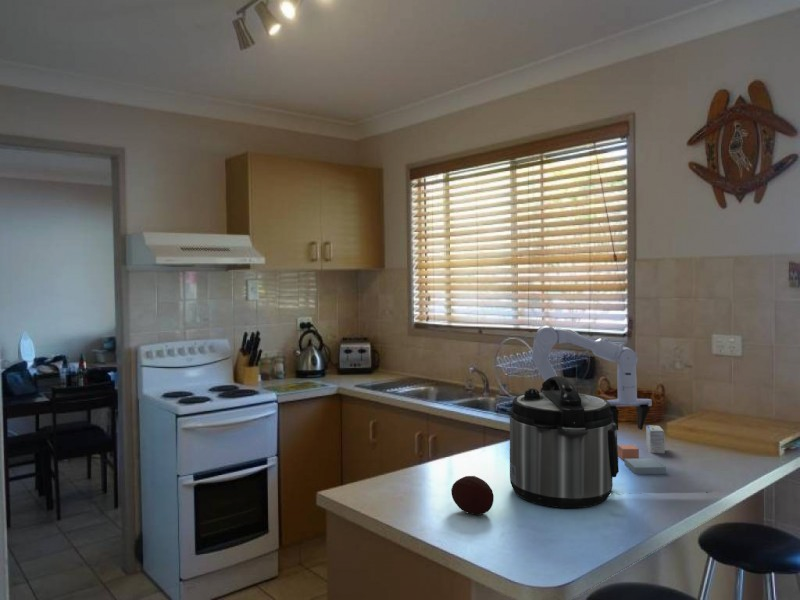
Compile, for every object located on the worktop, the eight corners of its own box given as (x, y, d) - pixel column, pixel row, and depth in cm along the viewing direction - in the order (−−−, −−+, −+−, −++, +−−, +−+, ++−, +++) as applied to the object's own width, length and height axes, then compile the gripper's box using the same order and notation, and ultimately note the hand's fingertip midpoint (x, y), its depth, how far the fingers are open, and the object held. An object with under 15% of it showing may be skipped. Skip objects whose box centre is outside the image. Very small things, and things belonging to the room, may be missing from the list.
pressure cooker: (596, 523, 151) (595, 390, 150) (489, 500, 167) (488, 381, 166) (631, 488, 175) (631, 374, 174) (536, 471, 192) (535, 367, 191)
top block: (634, 474, 183) (634, 467, 183) (624, 465, 192) (624, 458, 192) (666, 474, 183) (666, 467, 183) (654, 464, 192) (654, 458, 192)
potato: (481, 524, 151) (480, 486, 150) (443, 512, 159) (442, 475, 159) (502, 514, 157) (502, 477, 157) (464, 502, 165) (464, 467, 165)
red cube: (622, 465, 197) (622, 449, 196) (617, 460, 202) (617, 444, 202) (638, 464, 197) (638, 448, 196) (633, 460, 202) (633, 444, 201)
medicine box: (664, 457, 204) (664, 431, 203) (650, 457, 205) (650, 430, 204) (659, 451, 211) (659, 425, 211) (645, 450, 212) (645, 425, 212)
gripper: (608, 389, 194) (609, 432, 195) (655, 387, 194) (656, 431, 195) (600, 385, 201) (601, 427, 202) (646, 383, 201) (647, 426, 202)
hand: (628, 429), depth 199 cm, fingers open, 7 cm apart
